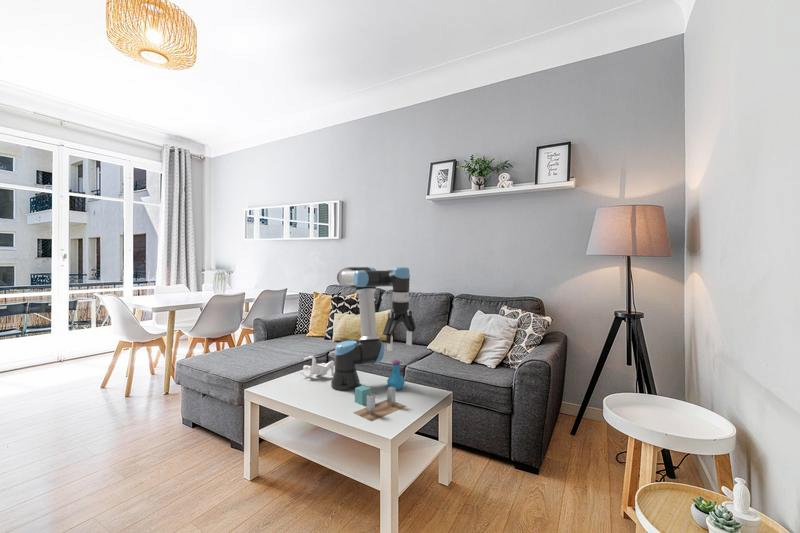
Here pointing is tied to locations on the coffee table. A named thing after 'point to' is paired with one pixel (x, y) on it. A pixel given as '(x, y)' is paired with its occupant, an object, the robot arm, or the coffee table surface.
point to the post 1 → (370, 404)
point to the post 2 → (391, 396)
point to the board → (379, 410)
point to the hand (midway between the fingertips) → (399, 347)
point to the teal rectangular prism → (362, 394)
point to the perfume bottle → (396, 377)
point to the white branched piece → (318, 368)
